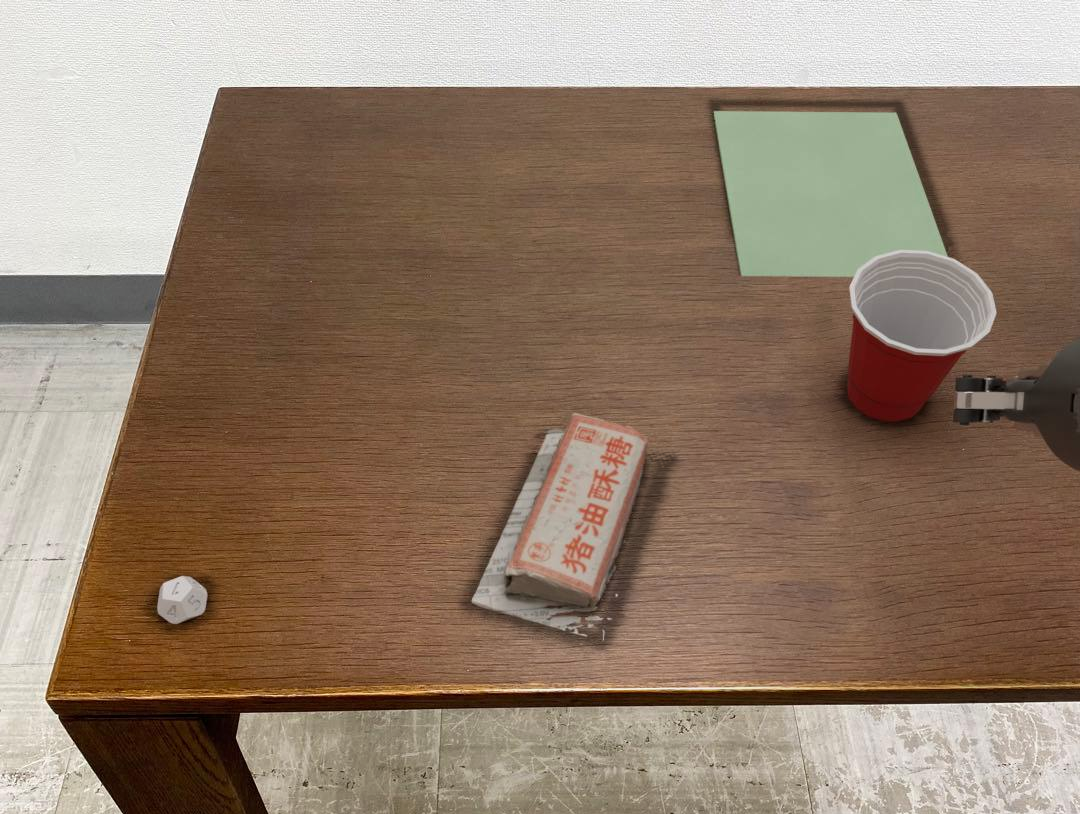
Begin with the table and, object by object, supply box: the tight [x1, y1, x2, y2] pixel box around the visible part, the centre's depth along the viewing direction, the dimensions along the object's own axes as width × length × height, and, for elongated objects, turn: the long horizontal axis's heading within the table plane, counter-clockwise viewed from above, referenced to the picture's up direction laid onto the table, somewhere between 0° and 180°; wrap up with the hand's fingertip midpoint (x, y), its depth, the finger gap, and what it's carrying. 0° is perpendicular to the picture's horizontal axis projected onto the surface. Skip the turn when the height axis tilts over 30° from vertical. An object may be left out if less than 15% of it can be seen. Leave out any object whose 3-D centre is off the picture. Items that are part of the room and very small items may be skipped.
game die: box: [156, 575, 208, 625], centre depth 73 cm, size 4×4×3 cm
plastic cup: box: [846, 250, 998, 423], centre depth 82 cm, size 11×11×12 cm
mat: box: [713, 110, 949, 278], centre depth 103 cm, size 20×32×1 cm, turn 0°
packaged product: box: [471, 412, 648, 642], centre depth 77 cm, size 18×5×10 cm
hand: (997, 398), depth 65 cm, fingers closed
